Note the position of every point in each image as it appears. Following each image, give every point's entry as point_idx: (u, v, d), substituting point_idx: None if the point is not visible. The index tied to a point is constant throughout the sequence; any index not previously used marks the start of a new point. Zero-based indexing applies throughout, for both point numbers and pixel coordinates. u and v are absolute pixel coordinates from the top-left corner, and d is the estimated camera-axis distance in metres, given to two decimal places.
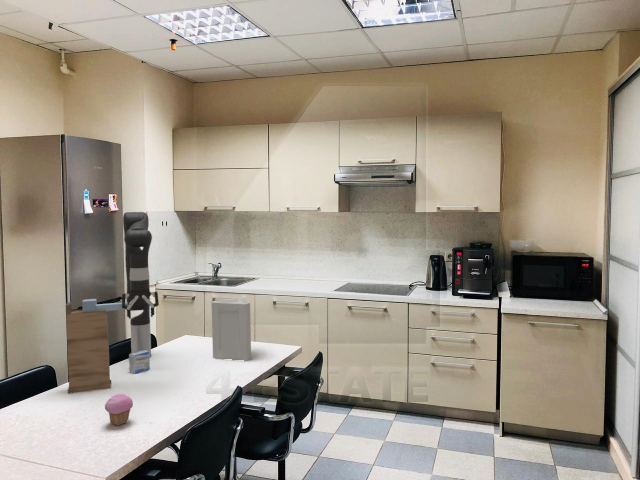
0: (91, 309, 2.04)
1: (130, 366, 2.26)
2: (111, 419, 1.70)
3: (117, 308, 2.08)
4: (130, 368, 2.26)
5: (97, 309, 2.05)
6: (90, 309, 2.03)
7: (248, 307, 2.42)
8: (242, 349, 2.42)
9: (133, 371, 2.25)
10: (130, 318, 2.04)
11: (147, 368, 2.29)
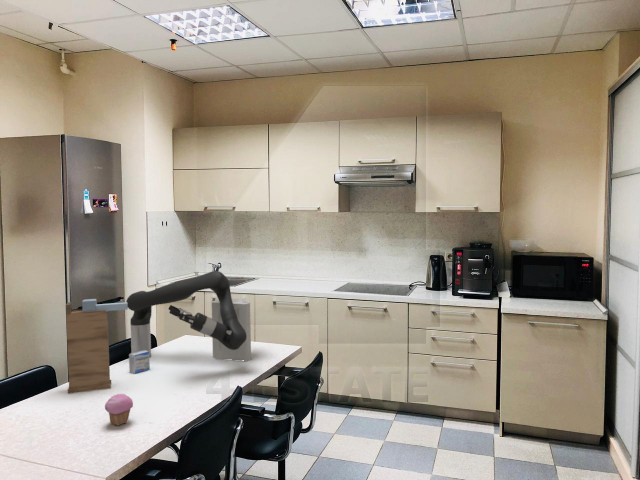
0: (91, 309, 2.04)
1: (130, 366, 2.26)
2: (111, 419, 1.70)
3: (117, 308, 2.08)
4: (130, 368, 2.26)
5: (97, 309, 2.05)
6: (90, 309, 2.03)
7: (248, 307, 2.42)
8: (242, 349, 2.42)
9: (133, 371, 2.25)
10: None
11: (147, 368, 2.29)
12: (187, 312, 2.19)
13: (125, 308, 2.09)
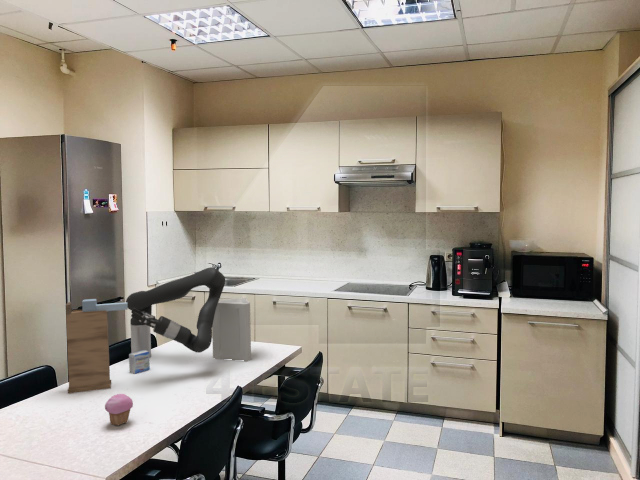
0: (91, 309, 2.04)
1: (130, 366, 2.26)
2: (111, 419, 1.70)
3: (117, 308, 2.08)
4: (130, 368, 2.26)
5: (97, 309, 2.05)
6: (90, 309, 2.03)
7: (248, 307, 2.42)
8: (242, 349, 2.42)
9: (133, 371, 2.25)
10: (131, 315, 2.07)
11: (147, 368, 2.29)
12: (150, 315, 2.15)
13: (125, 308, 2.09)
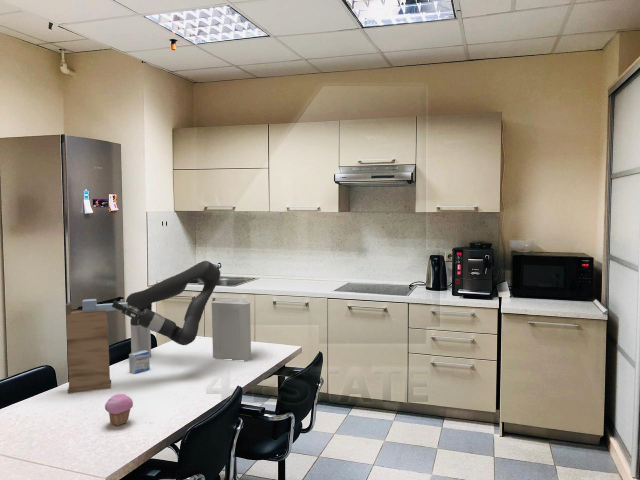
0: (91, 309, 2.04)
1: (130, 366, 2.26)
2: (111, 419, 1.70)
3: None
4: (130, 368, 2.26)
5: (97, 309, 2.05)
6: (90, 309, 2.03)
7: (248, 307, 2.42)
8: (242, 349, 2.42)
9: (133, 371, 2.25)
10: (112, 306, 2.07)
11: (147, 368, 2.29)
12: (134, 308, 2.12)
13: None
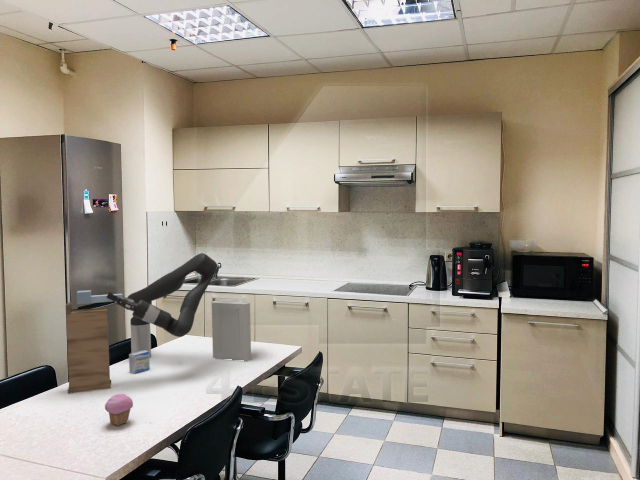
0: (86, 300, 2.03)
1: (130, 366, 2.26)
2: (111, 419, 1.70)
3: None
4: (130, 368, 2.26)
5: (92, 300, 2.04)
6: (85, 300, 2.03)
7: (248, 307, 2.42)
8: (242, 349, 2.42)
9: (133, 371, 2.25)
10: None
11: (147, 368, 2.29)
12: (129, 299, 2.11)
13: None
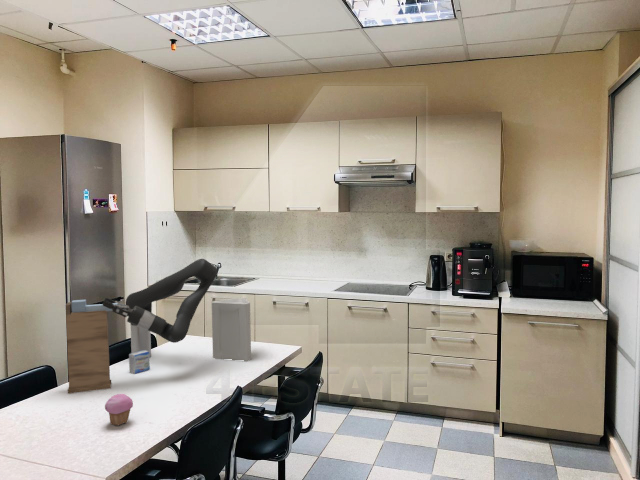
0: (80, 310, 2.02)
1: (130, 366, 2.26)
2: (111, 419, 1.70)
3: (107, 309, 2.07)
4: (130, 368, 2.26)
5: (87, 310, 2.04)
6: (79, 310, 2.02)
7: (248, 307, 2.42)
8: (242, 349, 2.42)
9: (133, 371, 2.25)
10: None
11: (147, 368, 2.29)
12: (124, 305, 2.11)
13: None
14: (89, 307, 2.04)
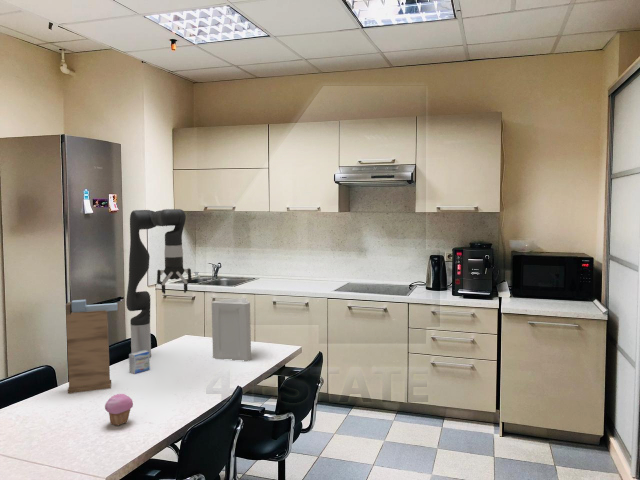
0: (80, 310, 2.02)
1: (130, 366, 2.26)
2: (111, 419, 1.70)
3: (107, 309, 2.07)
4: (130, 368, 2.26)
5: (87, 310, 2.04)
6: (79, 310, 2.02)
7: (248, 307, 2.42)
8: (242, 349, 2.42)
9: (133, 371, 2.25)
10: None
11: (147, 368, 2.29)
12: None
13: (115, 309, 2.08)
14: (89, 307, 2.04)
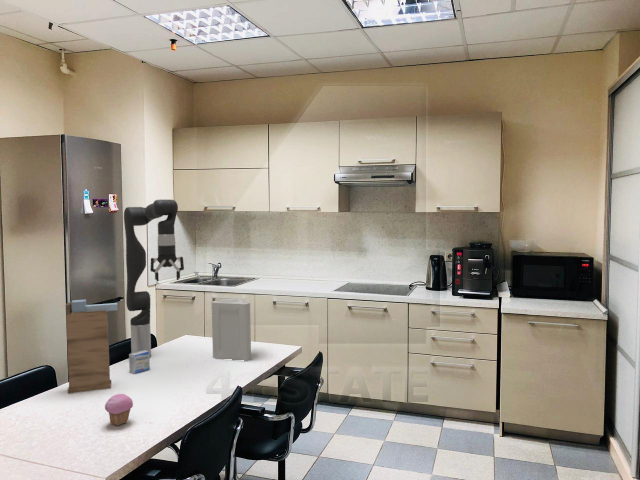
0: (80, 310, 2.02)
1: (130, 366, 2.26)
2: (111, 419, 1.70)
3: (107, 309, 2.07)
4: (130, 368, 2.26)
5: (87, 310, 2.04)
6: (79, 310, 2.02)
7: (248, 307, 2.42)
8: (242, 349, 2.42)
9: (133, 371, 2.25)
10: (158, 280, 2.21)
11: (147, 368, 2.29)
12: None
13: (115, 309, 2.08)
14: (89, 307, 2.04)
